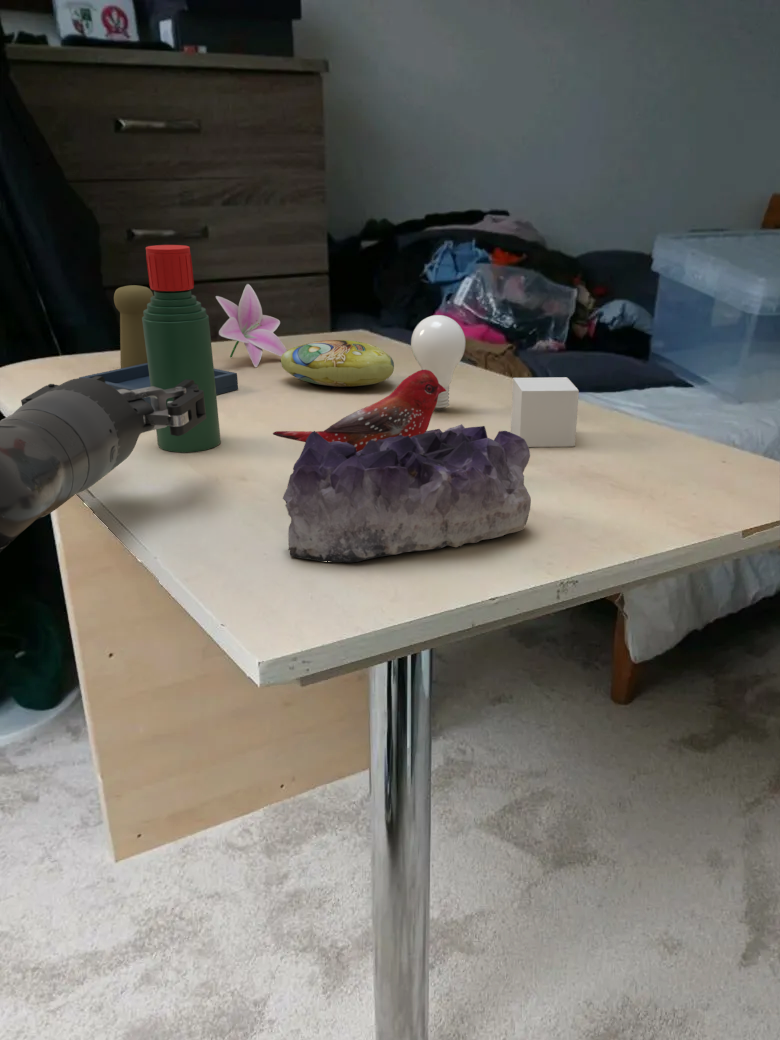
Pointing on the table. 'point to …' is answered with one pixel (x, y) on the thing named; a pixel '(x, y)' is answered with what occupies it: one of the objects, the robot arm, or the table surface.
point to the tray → (140, 379)
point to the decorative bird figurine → (385, 414)
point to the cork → (132, 323)
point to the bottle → (182, 362)
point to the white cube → (545, 411)
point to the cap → (169, 267)
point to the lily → (251, 326)
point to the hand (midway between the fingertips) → (146, 388)
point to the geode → (405, 493)
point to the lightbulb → (439, 350)
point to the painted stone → (338, 363)
